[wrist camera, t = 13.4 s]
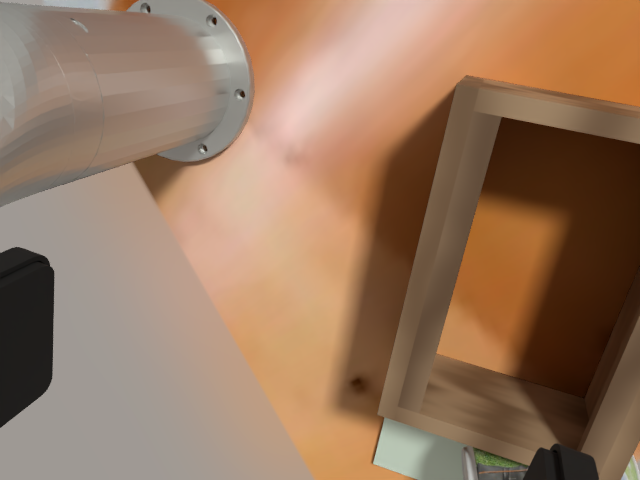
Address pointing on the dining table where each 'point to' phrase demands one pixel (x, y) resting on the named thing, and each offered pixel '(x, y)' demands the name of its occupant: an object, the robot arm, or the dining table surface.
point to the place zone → (418, 453)
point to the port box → (439, 281)
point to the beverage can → (510, 467)
